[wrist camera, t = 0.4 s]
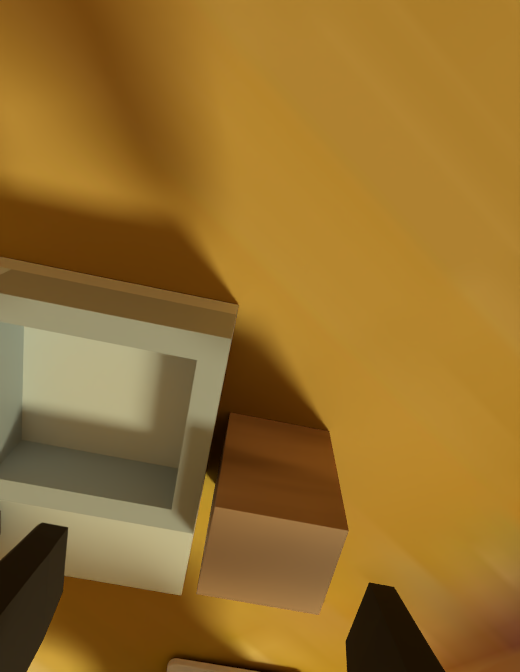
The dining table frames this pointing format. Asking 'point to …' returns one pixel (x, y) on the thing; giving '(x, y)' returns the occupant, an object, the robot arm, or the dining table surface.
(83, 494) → the chassis
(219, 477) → the walnut block
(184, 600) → the dining table surface
